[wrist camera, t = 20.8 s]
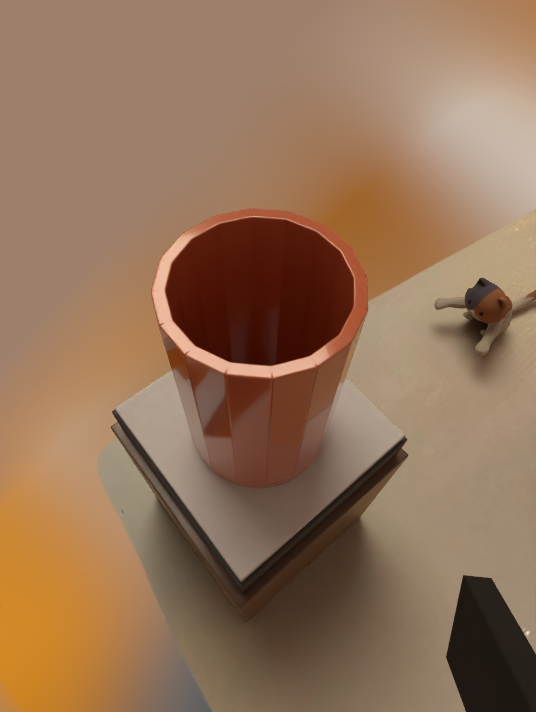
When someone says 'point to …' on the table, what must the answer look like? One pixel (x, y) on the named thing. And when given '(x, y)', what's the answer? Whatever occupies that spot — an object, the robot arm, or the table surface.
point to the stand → (292, 560)
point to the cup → (259, 338)
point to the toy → (486, 309)
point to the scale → (257, 505)
